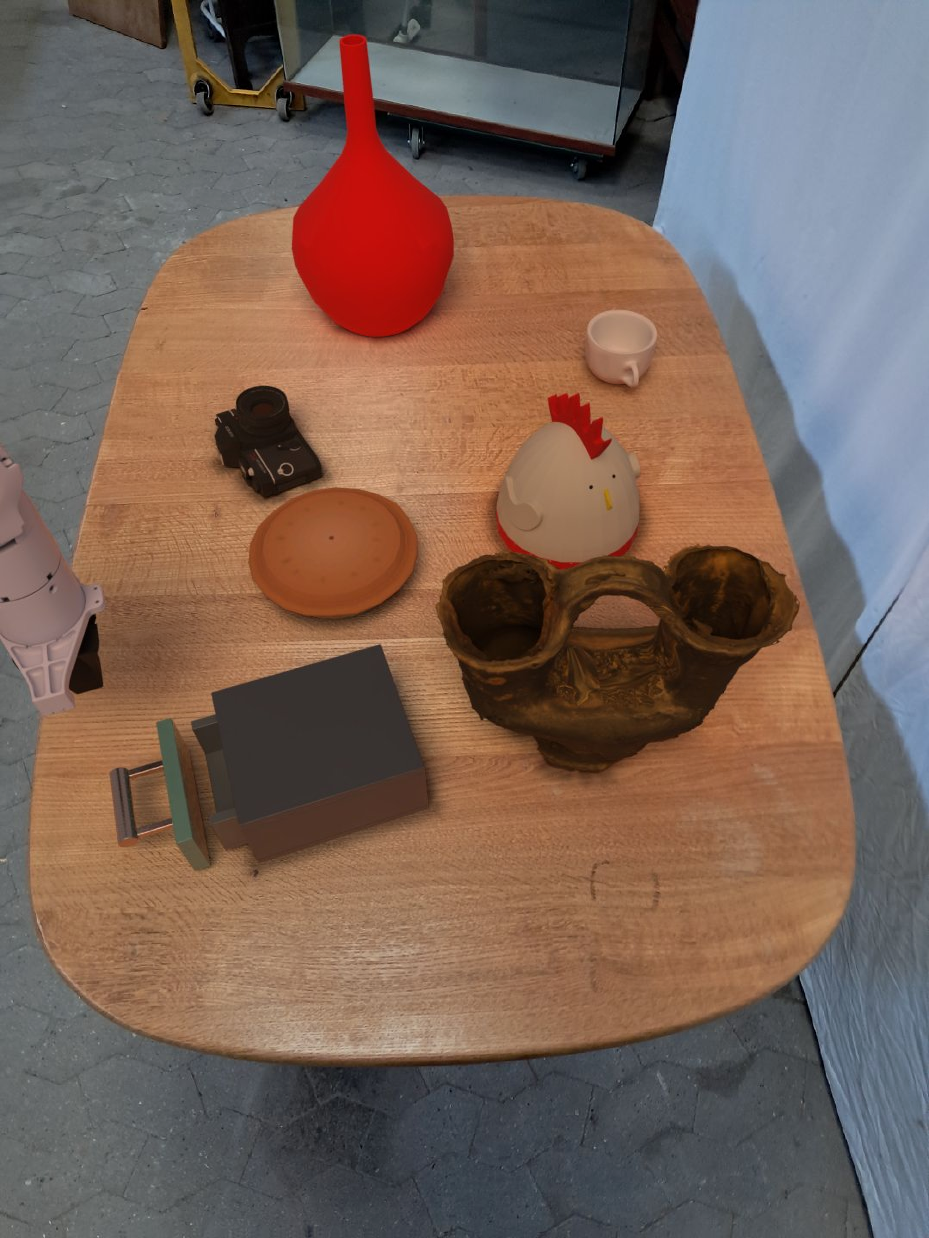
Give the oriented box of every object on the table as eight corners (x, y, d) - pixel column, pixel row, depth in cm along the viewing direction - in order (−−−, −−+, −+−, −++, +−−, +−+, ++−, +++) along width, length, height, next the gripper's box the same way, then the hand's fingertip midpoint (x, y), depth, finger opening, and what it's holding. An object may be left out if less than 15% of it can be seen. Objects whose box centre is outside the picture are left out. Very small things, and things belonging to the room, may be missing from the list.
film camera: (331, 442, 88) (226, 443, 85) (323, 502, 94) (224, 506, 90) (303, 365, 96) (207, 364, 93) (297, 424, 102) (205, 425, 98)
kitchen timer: (548, 595, 84) (560, 479, 72) (469, 504, 91) (468, 384, 79) (666, 535, 88) (695, 415, 76) (582, 452, 95) (597, 331, 83)
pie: (232, 548, 88) (220, 512, 84) (378, 492, 92) (373, 456, 88) (291, 665, 80) (281, 632, 76) (448, 598, 84) (446, 563, 80)
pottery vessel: (726, 661, 79) (789, 504, 63) (754, 774, 73) (832, 630, 57) (441, 671, 79) (432, 515, 63) (443, 784, 73) (433, 643, 57)
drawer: (136, 890, 67) (113, 863, 63) (120, 770, 73) (98, 738, 68) (356, 819, 70) (348, 789, 66) (324, 710, 76) (315, 675, 72)
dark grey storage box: (258, 864, 69) (238, 825, 63) (230, 737, 75) (210, 692, 70) (428, 809, 71) (424, 767, 66) (387, 690, 78) (380, 643, 72)
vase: (315, 268, 116) (273, 1, 92) (458, 270, 115) (453, 2, 91) (293, 359, 105) (238, 83, 81) (451, 361, 104) (443, 85, 80)
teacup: (574, 354, 105) (578, 314, 100) (638, 346, 106) (644, 305, 101) (598, 411, 99) (603, 371, 95) (665, 401, 100) (674, 361, 95)
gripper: (89, 638, 53) (156, 749, 64) (69, 474, 62) (131, 596, 72) (-36, 672, 52) (53, 779, 63) (-40, 499, 60) (40, 620, 71)
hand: (88, 683), depth 68 cm, fingers closed
